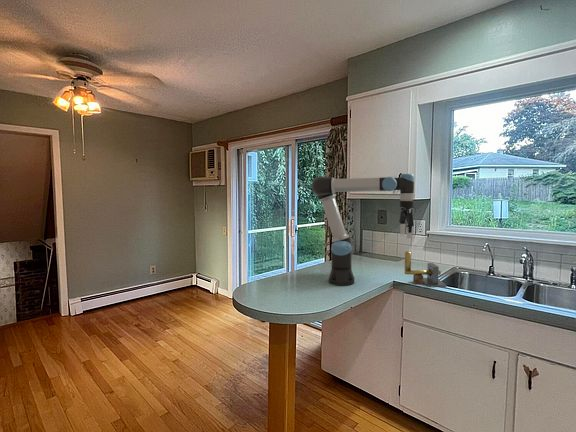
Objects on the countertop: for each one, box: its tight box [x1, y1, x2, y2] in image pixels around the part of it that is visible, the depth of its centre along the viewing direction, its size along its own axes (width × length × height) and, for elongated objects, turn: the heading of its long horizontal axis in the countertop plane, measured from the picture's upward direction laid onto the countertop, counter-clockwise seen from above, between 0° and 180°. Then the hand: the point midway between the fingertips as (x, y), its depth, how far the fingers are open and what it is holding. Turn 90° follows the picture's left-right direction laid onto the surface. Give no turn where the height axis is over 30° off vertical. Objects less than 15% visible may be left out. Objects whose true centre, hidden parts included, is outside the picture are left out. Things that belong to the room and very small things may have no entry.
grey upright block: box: [423, 262, 447, 288], centre depth 182 cm, size 10×14×10 cm
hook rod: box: [403, 250, 441, 276], centre depth 182 cm, size 20×3×13 cm, turn 85°
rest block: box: [412, 274, 424, 285], centre depth 183 cm, size 4×5×5 cm
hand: (405, 236), depth 187 cm, fingers open, 13 cm apart
